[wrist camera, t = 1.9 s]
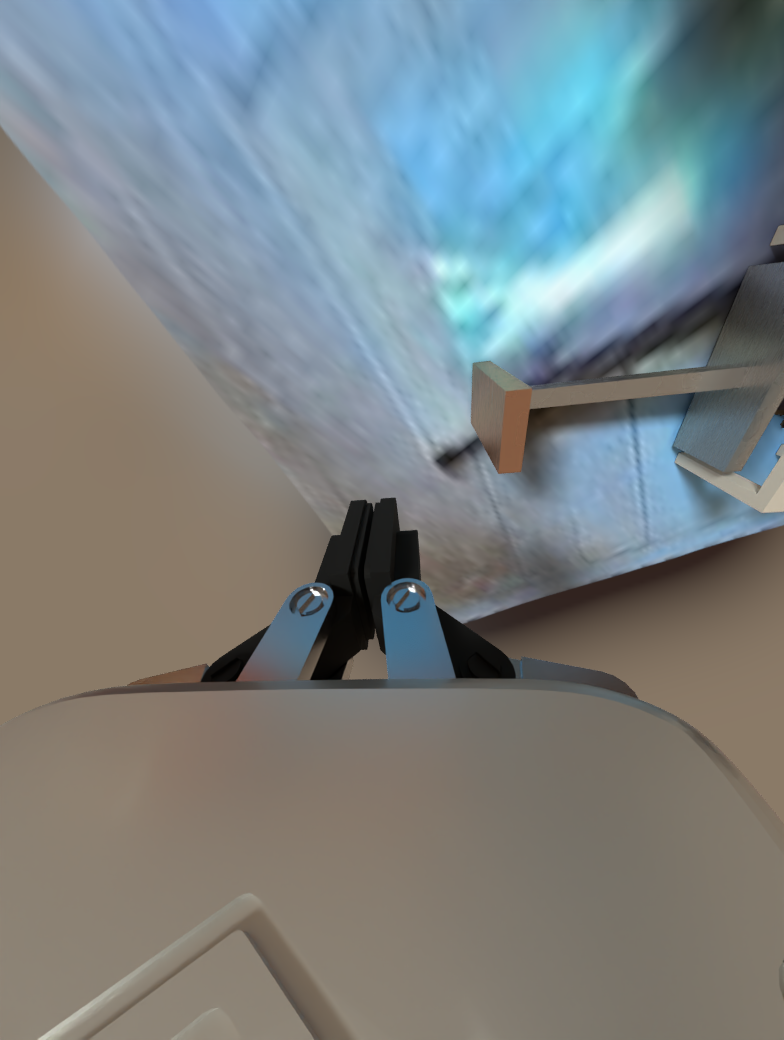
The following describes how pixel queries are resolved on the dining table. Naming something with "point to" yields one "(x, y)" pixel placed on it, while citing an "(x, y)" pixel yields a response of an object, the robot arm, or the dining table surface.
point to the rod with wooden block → (665, 386)
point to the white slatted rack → (772, 496)
